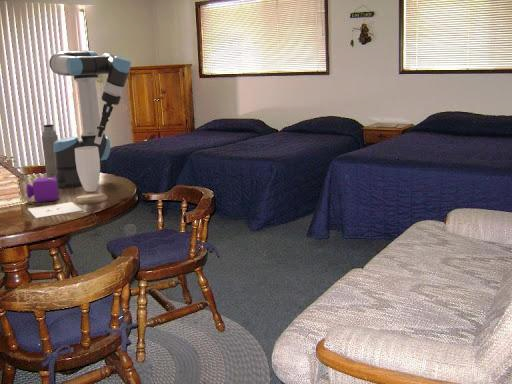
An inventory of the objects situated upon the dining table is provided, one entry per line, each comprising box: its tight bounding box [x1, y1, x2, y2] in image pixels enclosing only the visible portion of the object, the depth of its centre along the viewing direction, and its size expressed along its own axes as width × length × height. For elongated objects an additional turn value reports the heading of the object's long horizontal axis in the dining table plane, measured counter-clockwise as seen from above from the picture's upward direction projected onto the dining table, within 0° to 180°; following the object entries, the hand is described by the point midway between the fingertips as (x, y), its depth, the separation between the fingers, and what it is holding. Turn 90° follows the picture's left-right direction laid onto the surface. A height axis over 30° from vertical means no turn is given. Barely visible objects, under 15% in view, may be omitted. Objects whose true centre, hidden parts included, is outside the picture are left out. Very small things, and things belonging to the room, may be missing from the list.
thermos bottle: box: [41, 124, 59, 178], centre depth 299 cm, size 8×8×28 cm
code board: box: [27, 201, 84, 219], centre depth 227 cm, size 18×18×1 cm
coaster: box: [75, 193, 108, 205], centre depth 241 cm, size 13×13×2 cm
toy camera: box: [25, 177, 60, 203], centre depth 244 cm, size 11×14×10 cm
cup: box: [75, 146, 101, 192], centre depth 239 cm, size 10×10×22 cm
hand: (98, 139), depth 243 cm, fingers open, 13 cm apart
